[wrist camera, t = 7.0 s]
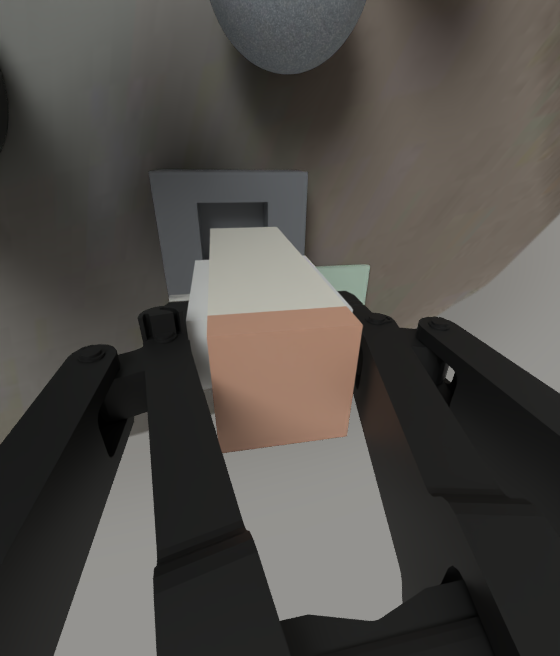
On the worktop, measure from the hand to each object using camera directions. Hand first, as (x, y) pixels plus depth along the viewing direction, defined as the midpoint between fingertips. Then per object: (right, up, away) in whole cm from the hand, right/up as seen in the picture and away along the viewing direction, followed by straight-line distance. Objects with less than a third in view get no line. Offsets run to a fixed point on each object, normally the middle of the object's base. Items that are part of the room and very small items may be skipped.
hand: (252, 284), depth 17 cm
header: (-3, +7, +14) cm, 16 cm away
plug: (-1, +2, +4) cm, 4 cm away
